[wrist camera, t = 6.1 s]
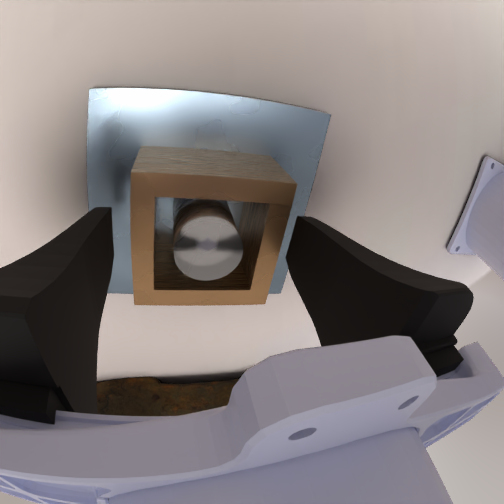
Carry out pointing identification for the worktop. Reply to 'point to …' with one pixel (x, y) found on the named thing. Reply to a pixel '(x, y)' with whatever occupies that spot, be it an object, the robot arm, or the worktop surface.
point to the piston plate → (199, 137)
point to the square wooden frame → (215, 188)
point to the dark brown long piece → (160, 397)
